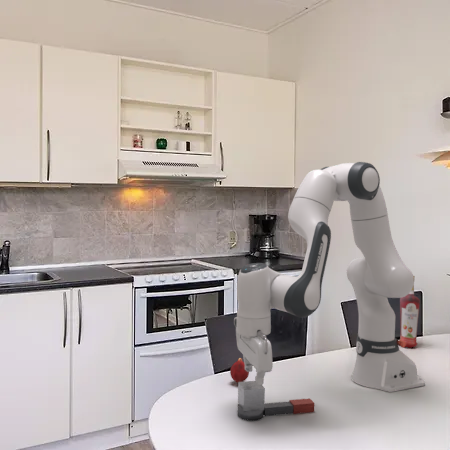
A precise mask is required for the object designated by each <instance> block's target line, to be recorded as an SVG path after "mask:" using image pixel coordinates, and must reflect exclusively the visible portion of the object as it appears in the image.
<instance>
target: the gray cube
mask: <svg viewBox="0 0 450 450" xmlns="http://www.w3.org/2000/svg"><path fill="white" fill-rule="evenodd" d="M237 384H238V385H237V387H238V388H237V389H238V390H237V403H238V404H239V405H240V406H241V408H242V409H243V411H252V410H264V404H265V402H266V401H265V397H266V394H265V391H266V390H265V389H266V388H265V386H263V385H257V384H256V382H255V380H250V381H249V380H248V381H247V380H245V381H243V382H238V383H237Z"/></svg>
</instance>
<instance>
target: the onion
mask: <svg viewBox="0 0 450 450" xmlns="http://www.w3.org/2000/svg"><path fill="white" fill-rule="evenodd" d="M229 370H230V372H229V374H230V377H231V379H232V380H233V381H234V382H235V383H237V384H238V382H246V381H247V379H248V378H249V375H250V372H247V371H246V370H245V364H244V360H243V358H241V357H239V358H238V360H237V361H235V362H234V363H233V364H232V366H231V367H230V369H229Z"/></svg>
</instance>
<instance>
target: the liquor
mask: <svg viewBox="0 0 450 450" xmlns="http://www.w3.org/2000/svg"><path fill="white" fill-rule="evenodd" d="M413 277H414V278H415V275H413ZM420 304H421V300H420V298H419V297H418V296H416V295H415V284H414V285H413V288H412V290H411V292H410V293H409V294H408V295H406V296H405V297H402V298H399V321H400V323H399V324H400V325H399V330H400V332H399V334H400V336H399V337H400V338H399V340H402V341H405V344H406V346H405V347H404V348H406V347H408V348H407V349H413V348H412V347H414V348H416V346H417V345H418V343H417V338H418V337H417V335H418V324H419V317H420V316H419V315H420Z"/></svg>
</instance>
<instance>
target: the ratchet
mask: <svg viewBox="0 0 450 450" xmlns="http://www.w3.org/2000/svg"><path fill="white" fill-rule="evenodd" d="M307 413H315V401H313V400H312V399H311V398H297V399H289V401H279V402H269V403H268V402H267V403H264V410H252V411H243V409H242V408H241V406H240V405H239V403H238V404H237V412H236V415H237V417H238V418H239V419H241V420H243V421H247V422H257V421H261V420H262V419H264V417H272V416H285V415H292V414H293V415H297V414H307Z"/></svg>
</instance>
